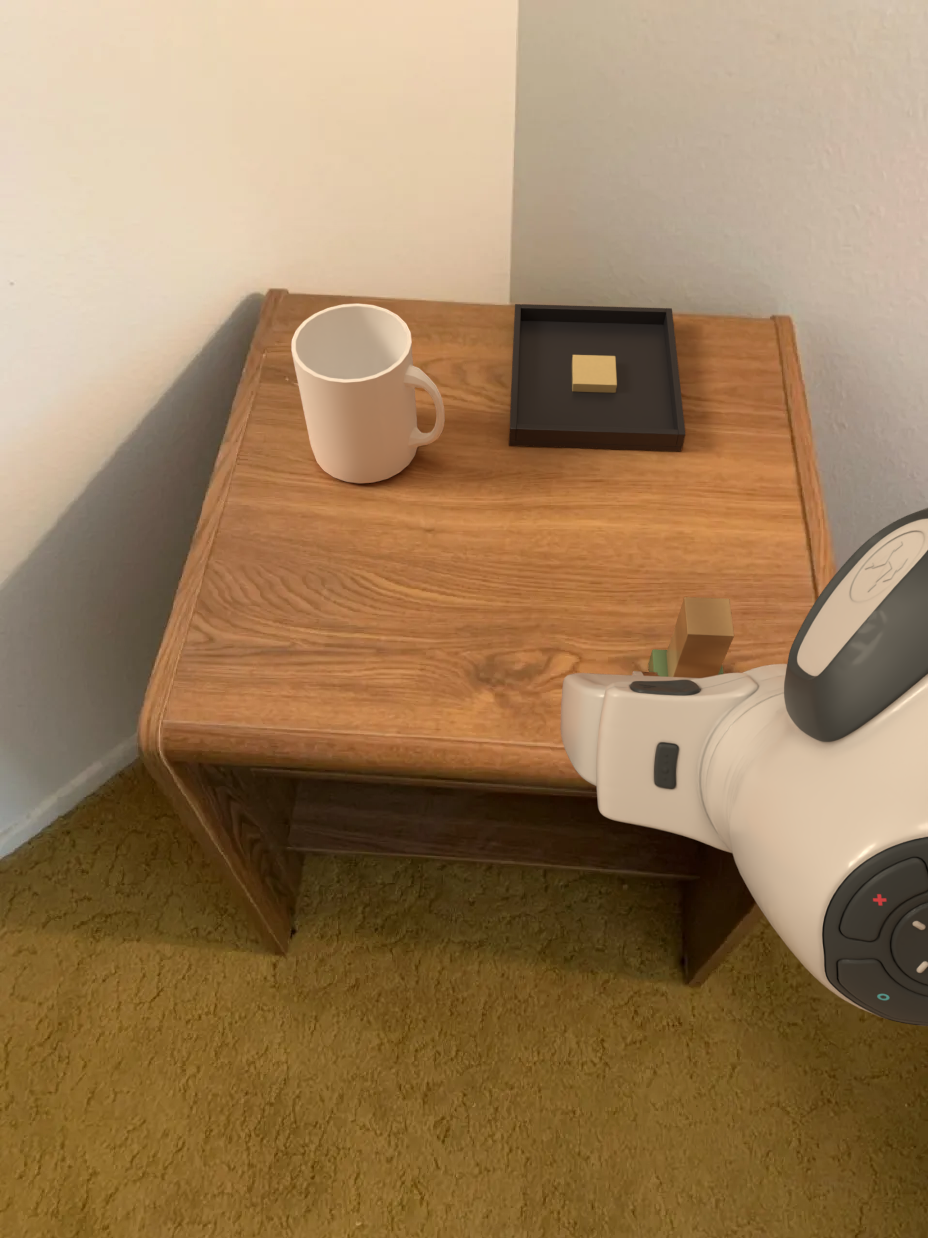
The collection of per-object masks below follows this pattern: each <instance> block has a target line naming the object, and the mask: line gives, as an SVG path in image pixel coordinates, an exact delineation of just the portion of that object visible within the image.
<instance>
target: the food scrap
mask: <svg viewBox="0 0 928 1238" xmlns="http://www.w3.org/2000/svg"><path fill="white" fill-rule="evenodd" d="M616 388H617V376H616V357H615V356H598V355H573V357H572V391H573V392H602V393H616Z"/></svg>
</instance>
